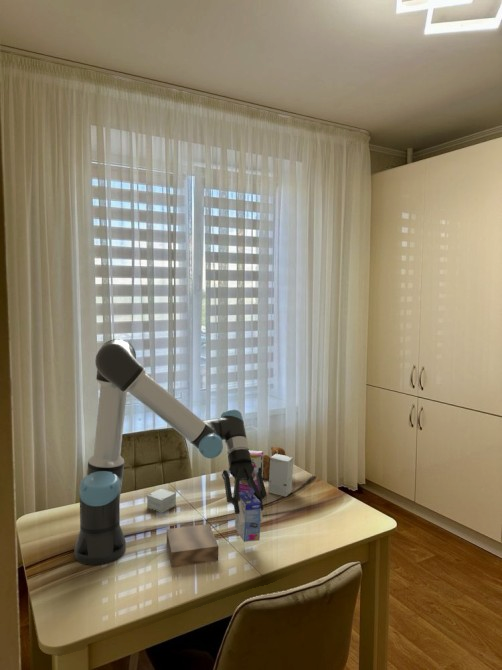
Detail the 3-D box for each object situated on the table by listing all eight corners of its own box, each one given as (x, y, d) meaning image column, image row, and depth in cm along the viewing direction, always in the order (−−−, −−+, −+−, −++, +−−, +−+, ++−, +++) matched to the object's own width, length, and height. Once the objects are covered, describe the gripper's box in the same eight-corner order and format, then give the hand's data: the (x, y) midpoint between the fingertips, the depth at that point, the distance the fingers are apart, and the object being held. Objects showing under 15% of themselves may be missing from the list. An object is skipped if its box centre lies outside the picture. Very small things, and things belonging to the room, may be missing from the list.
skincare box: (268, 492, 191) (268, 457, 189) (274, 487, 196) (275, 452, 195) (287, 497, 187) (287, 461, 186) (292, 491, 192) (293, 456, 191)
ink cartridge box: (261, 540, 145) (261, 495, 144) (244, 543, 143) (244, 497, 142) (250, 525, 155) (251, 482, 153) (234, 527, 153) (235, 484, 151)
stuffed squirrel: (291, 480, 204) (292, 450, 203) (260, 482, 201) (260, 452, 200) (284, 471, 214) (285, 443, 213) (254, 474, 211) (254, 445, 209)
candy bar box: (234, 492, 191) (234, 453, 189) (235, 487, 195) (236, 449, 194) (261, 494, 189) (262, 454, 188) (262, 489, 194) (263, 450, 193)
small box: (176, 505, 178) (176, 492, 178) (161, 513, 172) (161, 500, 171) (161, 500, 183) (161, 487, 182) (146, 507, 176) (146, 494, 176)
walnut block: (171, 568, 138) (171, 552, 138) (166, 544, 152) (166, 529, 151) (218, 561, 142) (218, 546, 142) (209, 538, 155) (209, 523, 155)
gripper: (261, 456, 165) (275, 523, 151) (209, 459, 159) (220, 530, 145) (266, 446, 159) (282, 515, 145) (214, 449, 154) (225, 521, 139)
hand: (251, 522), depth 145 cm, fingers closed on ink cartridge box, 5 cm apart
